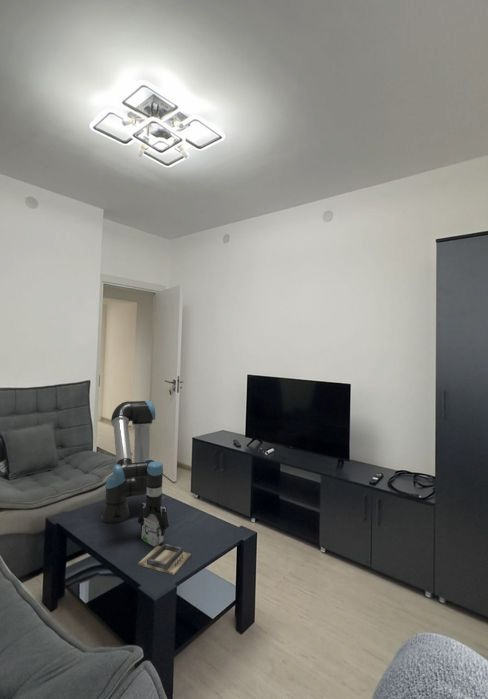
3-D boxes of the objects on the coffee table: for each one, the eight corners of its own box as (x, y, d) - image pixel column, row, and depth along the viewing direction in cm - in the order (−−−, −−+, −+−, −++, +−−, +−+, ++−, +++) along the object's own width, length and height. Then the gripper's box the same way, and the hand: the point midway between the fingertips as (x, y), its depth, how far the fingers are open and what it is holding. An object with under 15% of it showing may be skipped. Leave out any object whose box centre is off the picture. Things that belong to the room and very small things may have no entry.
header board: (138, 565, 153) (138, 558, 153) (157, 547, 167) (157, 541, 167) (174, 575, 147) (174, 568, 147) (190, 555, 161) (191, 549, 161)
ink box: (142, 541, 172) (143, 517, 172) (150, 536, 176) (151, 513, 176) (154, 547, 167) (155, 522, 167) (162, 542, 171) (162, 518, 171)
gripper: (130, 493, 172) (129, 538, 172) (169, 501, 165) (167, 548, 165) (140, 488, 179) (138, 531, 179) (177, 495, 172) (175, 540, 172)
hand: (152, 539), depth 172 cm, fingers closed on ink box, 9 cm apart
